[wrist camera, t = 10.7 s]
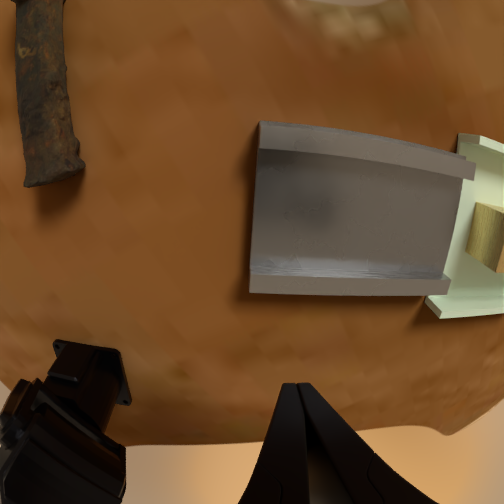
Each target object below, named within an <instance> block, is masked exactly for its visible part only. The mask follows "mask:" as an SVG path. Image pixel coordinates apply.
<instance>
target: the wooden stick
mask: <svg viewBox="0 0 504 504" xmlns="http://www.w3.org/2000/svg"><path fill="white" fill-rule="evenodd" d="M11 1H13V2H15V3H16V42H15V61H16V70H15V72H16V90H17V101H18V114H19V119H20V129H21V134H22V141H23V148H24V157H25V161H26V177H25V181H24V184H23V185H24V187H27V188H30V187H35V186H41V185H46V184H50V183H53V182H57V181H62V180H64V179H66V178H69V177H71V176H74V175H75V173H77V172H79V171H80V170H82V169H83V168H84V167H85V163H84V161H83V160H81V159H80V158H79V157H78V154H77V151H78V149H79V145H80V142H79V140H78V139H77V138H76V137H75V136H74V132H73V127H72V122H71V114H70V103H69V96H68V94H67V88H66V74H65V73H66V70H67V67H66V65H65V59H64V44H63V25H62V23H63V3H64V2H65V0H11Z"/></svg>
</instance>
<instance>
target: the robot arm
mask: <svg viewBox="0 0 504 504" xmlns="http://www.w3.org/2000/svg"><path fill="white" fill-rule="evenodd" d="M58 345H59V346H58ZM53 348H54V351H55V354H56V357H57V359H56V360H55V362H54V363H53V365H52V366H51V368H50V369H49V371H48V373H47V374H48V376H47V378H46V379H45V381H44V382H42V381H41V380H40V379H39V378H36V379H35V380H34V381H33V382H30V381H26V380H24V379H20V380H19V381H18V383H17V384H16V386H15V387H14V389H13V390H12V392H11V393H10V395H9V396H8V398H7V400H6V402H5V404H4V406H3V409H2V411H1V413H0V444H1V447H0V504H121V502H122V498H123V496H124V493H125V490H126V448H125V447H124V446H122V445H121V444H118V443H116V442H115V441H113V440H112V439H110V438H109V437H108V436H106V435H105V434H104V432H105V430H106V427H107V424H108V421H109V419H110V416H111V413H112V411H113V408H114V406H115V404H121V405H127V406H129V405H130V404H131V402H132V399H131V395H130V391H129V387H128V383H127V379H126V375H125V371H124V367H123V362H122V358H121V354H120V352H119V351H118V350H116V349H112V348H106V347H99V346H93V345H86V344H80V343H75V342H69V341H64V340H59V339H56V340H55V341H54V342H53ZM113 354H114V355H116V356H114V355H113ZM42 383H43V384H42ZM238 504H439V503H437V502H435V501H433V500H432V499H430V498H429V497H428V496H426V495H425V494H424V493H422V492H421V491H420V490H418V489H417V488H416V487H414V486H413V485H412V484H410V483H409V482H408V481H406V480H405V479H404V478H402V477H401V476H400V475H399V474H398V473H396V472H395V471H394V470H393V469H392V468H391V467H390V466H389V465H387V464H386V463H385V462H384V461H383V460H382V459H381V458H380V457H379V456H378V455H377V454H376V453H374V451H373V450H372V449H371V448H370V447H369V446H368V445H367V444H366V442H365V441H364V440H363V439H362V438H361V437H359V435H358V434H357V433H356V432H355V431H354V430H353V429H352V428H351V427H350V426H349V425H348V424H347V423H346V421H345V420H344V419H343V418H342V417H341V416H340V415H339V414H338V413H337V412H336V411H335V410H334V409H333V408H332V407H331V405H330V404H329V403H328V402H327V401H326V400H325V399H324V398H323V397H322V396H321V395H320V394H319V392H318V391H317V390H316V389H315V388H314V387H313V386H312V385H311V384H310V383H297V384H295V383H283V384H282V387H281V390H280V393H279V396H278V400H277V403H276V406H275V409H274V412H273V415H272V419H271V422H270V425H269V428H268V431H267V434H266V437H265V440H264V443H263V446H262V449H261V451H260V454H259V457H258V460H257V464H256V465H255V468H254V471H253V474H252V476H251V478H250V481H249V483H248V485H247V488H246V490H245V491H244V493H243V495H242V497H241V499H240V501H239V502H238Z"/></svg>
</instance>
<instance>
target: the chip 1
mask: <svg viewBox="0 0 504 504" xmlns="http://www.w3.org/2000/svg"><path fill="white" fill-rule="evenodd" d="M465 252H466V253H468V254H469V255H471V256H472V257H474V258H475V259H477V260H478V261H480V262H481V263H482V264H484V265H485V266H487V267H488V268H490V269H491V270H492V271H494V272H495V273H504V207H499V206H495V205H490V204H485V203H480V202H476V204H475V209H474V214H473V219H472V224H471V228H470V233H469V237H468V241H467V245H466V249H465Z"/></svg>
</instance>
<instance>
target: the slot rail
mask: <svg viewBox="0 0 504 504" xmlns="http://www.w3.org/2000/svg"><path fill="white" fill-rule="evenodd" d="M475 170H476V163H474V162H470V161H467V160H466V156H462V155H459V154H455V153H452V152H448V151H444V150H440V149H436V148H432V147H428V146H424V145H420V144H416V143H411V142H407V141H402V140H397V139H392V138H387V137H382V136H377V135H371V134H366V133H360V132H354V131H348V130H341V129H334V128H327V127H319V126H311V125H303V124H293V123H283V122H272V121H259V127H258V142H257V157H256V171H255V186H254V201H253V215H252V230H251V245H250V260H249V275H248V286H249V293H269V294H300V295H350V296H426V295H447V293H448V289H449V286H450V283H451V279H450V278H449V277H447V276H446V275H445V274H444V273H443V271H444V268H445V264H446V260H447V256H448V252H449V249H450V244H451V240H452V236H453V232H454V227H455V222H456V218H457V213H458V208H459V202H460V197H461V191H462V184H463V179H467V180H471V181H474V177H475Z"/></svg>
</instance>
